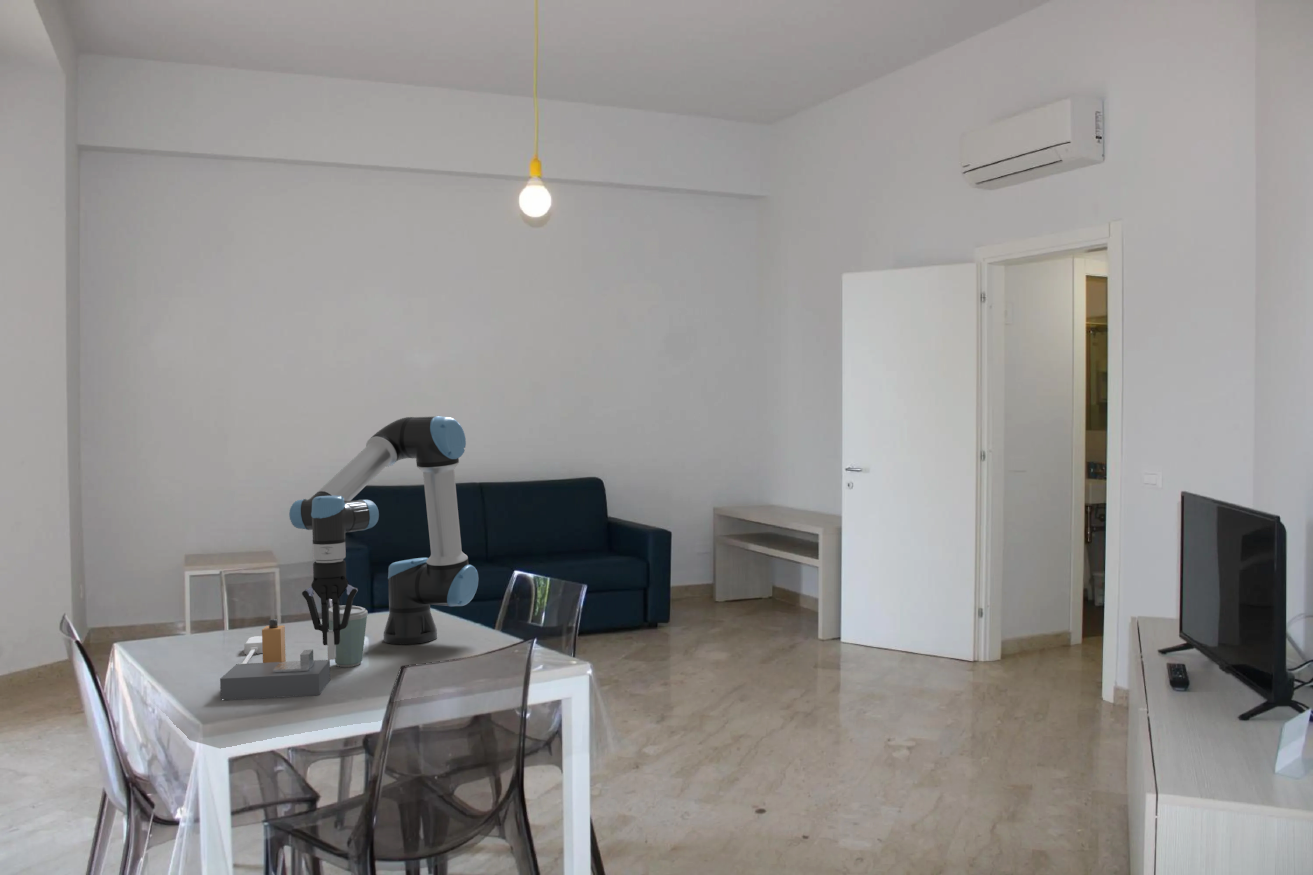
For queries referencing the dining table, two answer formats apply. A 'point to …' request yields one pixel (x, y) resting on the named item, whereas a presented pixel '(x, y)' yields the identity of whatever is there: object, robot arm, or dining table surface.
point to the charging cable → (252, 647)
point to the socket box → (273, 681)
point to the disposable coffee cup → (350, 636)
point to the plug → (273, 642)
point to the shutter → (297, 663)
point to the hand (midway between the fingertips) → (331, 658)
